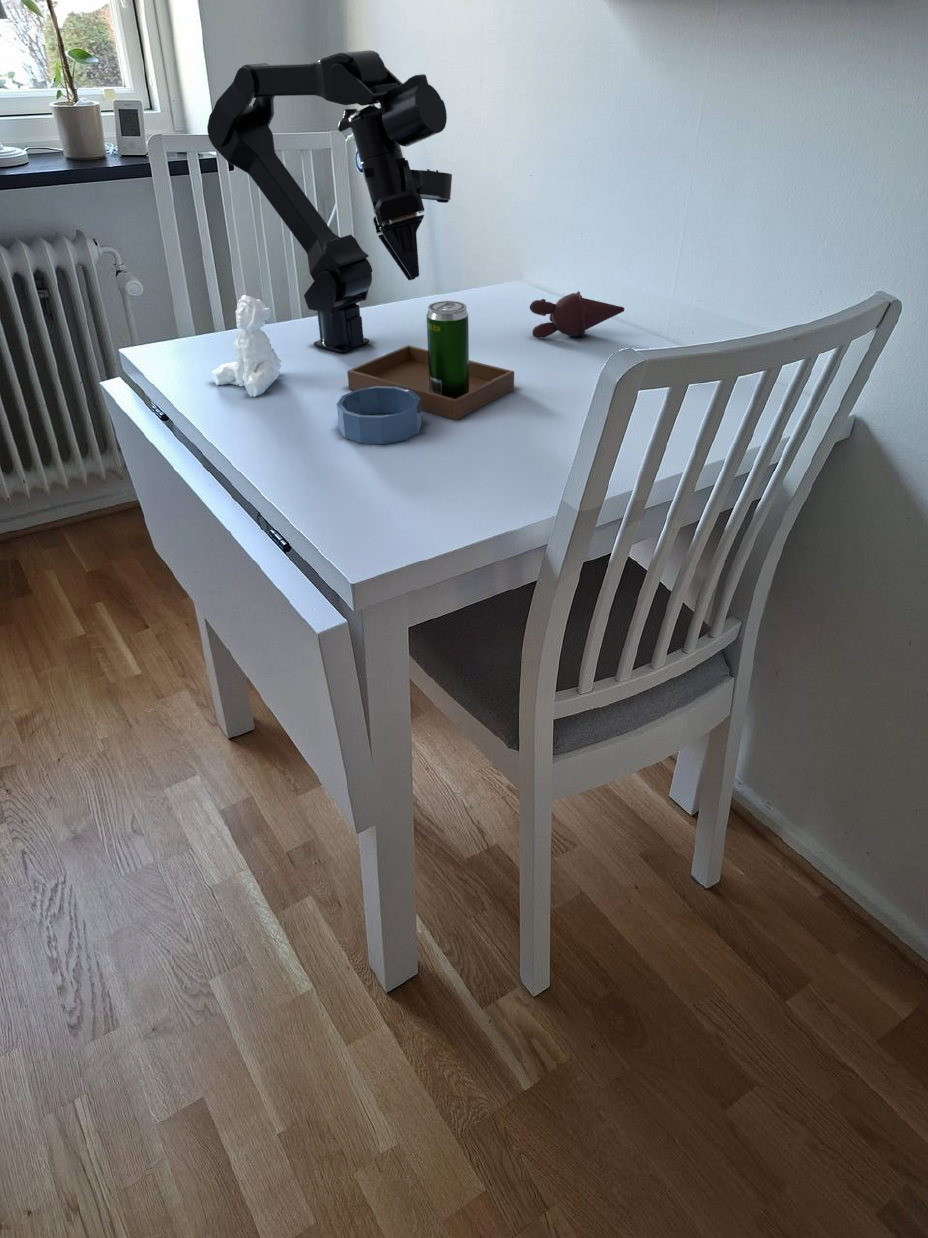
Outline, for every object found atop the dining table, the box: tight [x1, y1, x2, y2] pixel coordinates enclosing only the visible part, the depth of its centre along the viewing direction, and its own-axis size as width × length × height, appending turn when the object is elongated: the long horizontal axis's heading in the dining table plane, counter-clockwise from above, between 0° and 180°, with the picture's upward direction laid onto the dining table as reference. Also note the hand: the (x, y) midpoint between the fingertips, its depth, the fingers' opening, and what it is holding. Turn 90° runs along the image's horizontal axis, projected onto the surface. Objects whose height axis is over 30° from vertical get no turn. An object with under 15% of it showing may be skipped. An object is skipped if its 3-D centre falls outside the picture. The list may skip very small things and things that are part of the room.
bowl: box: [336, 386, 422, 445], centre depth 110 cm, size 10×10×4 cm
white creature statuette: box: [211, 295, 282, 398], centre depth 121 cm, size 10×9×12 cm
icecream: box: [529, 290, 625, 339], centre depth 138 cm, size 7×7×15 cm
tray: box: [346, 344, 515, 421], centre depth 121 cm, size 19×13×3 cm
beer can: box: [425, 300, 470, 399], centre depth 114 cm, size 5×5×12 cm
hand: (413, 278), depth 122 cm, fingers open, 9 cm apart
